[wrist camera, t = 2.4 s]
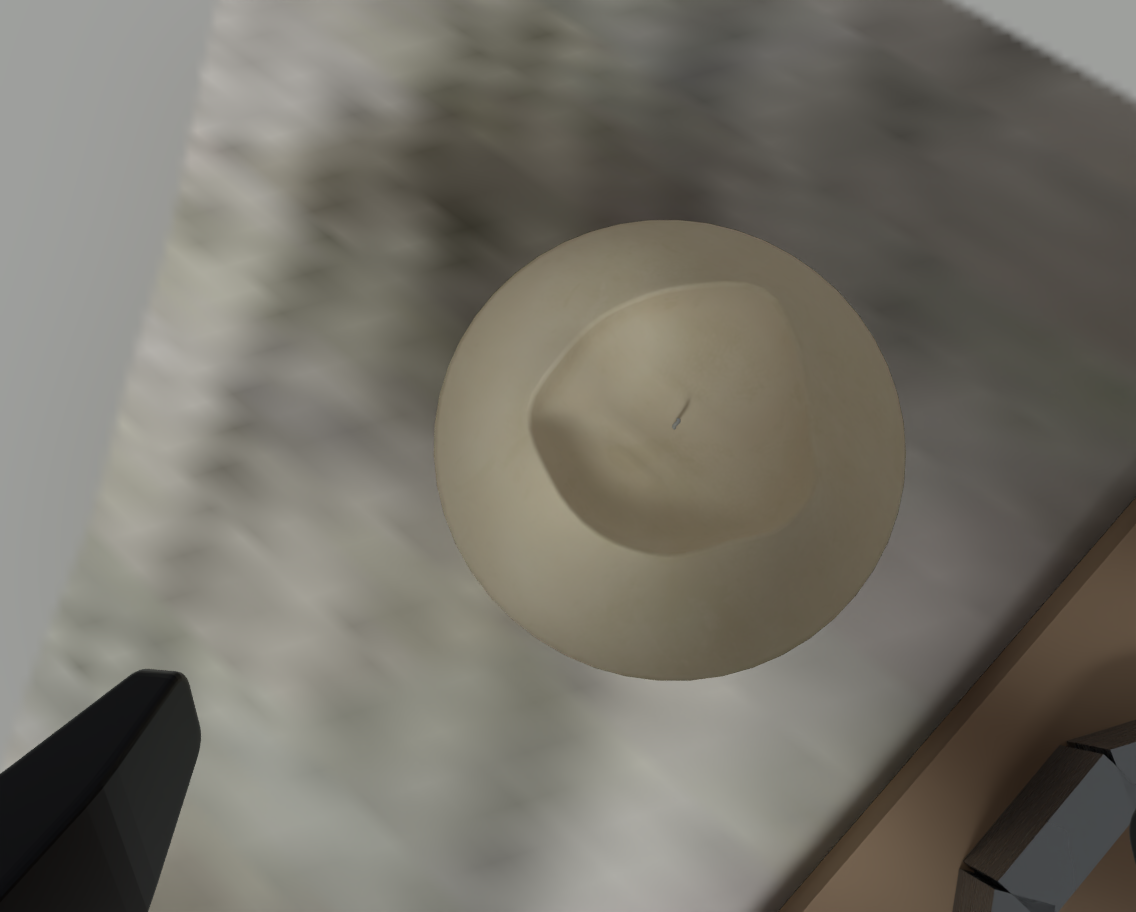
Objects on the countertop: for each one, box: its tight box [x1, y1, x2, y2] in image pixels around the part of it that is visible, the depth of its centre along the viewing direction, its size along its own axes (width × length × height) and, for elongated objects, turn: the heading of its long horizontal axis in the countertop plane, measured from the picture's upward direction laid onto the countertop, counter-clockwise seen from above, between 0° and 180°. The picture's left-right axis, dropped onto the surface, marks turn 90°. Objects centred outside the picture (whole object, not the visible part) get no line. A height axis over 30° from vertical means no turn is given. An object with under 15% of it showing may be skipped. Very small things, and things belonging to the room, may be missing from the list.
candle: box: [434, 220, 906, 680], centre depth 15 cm, size 6×6×10 cm
